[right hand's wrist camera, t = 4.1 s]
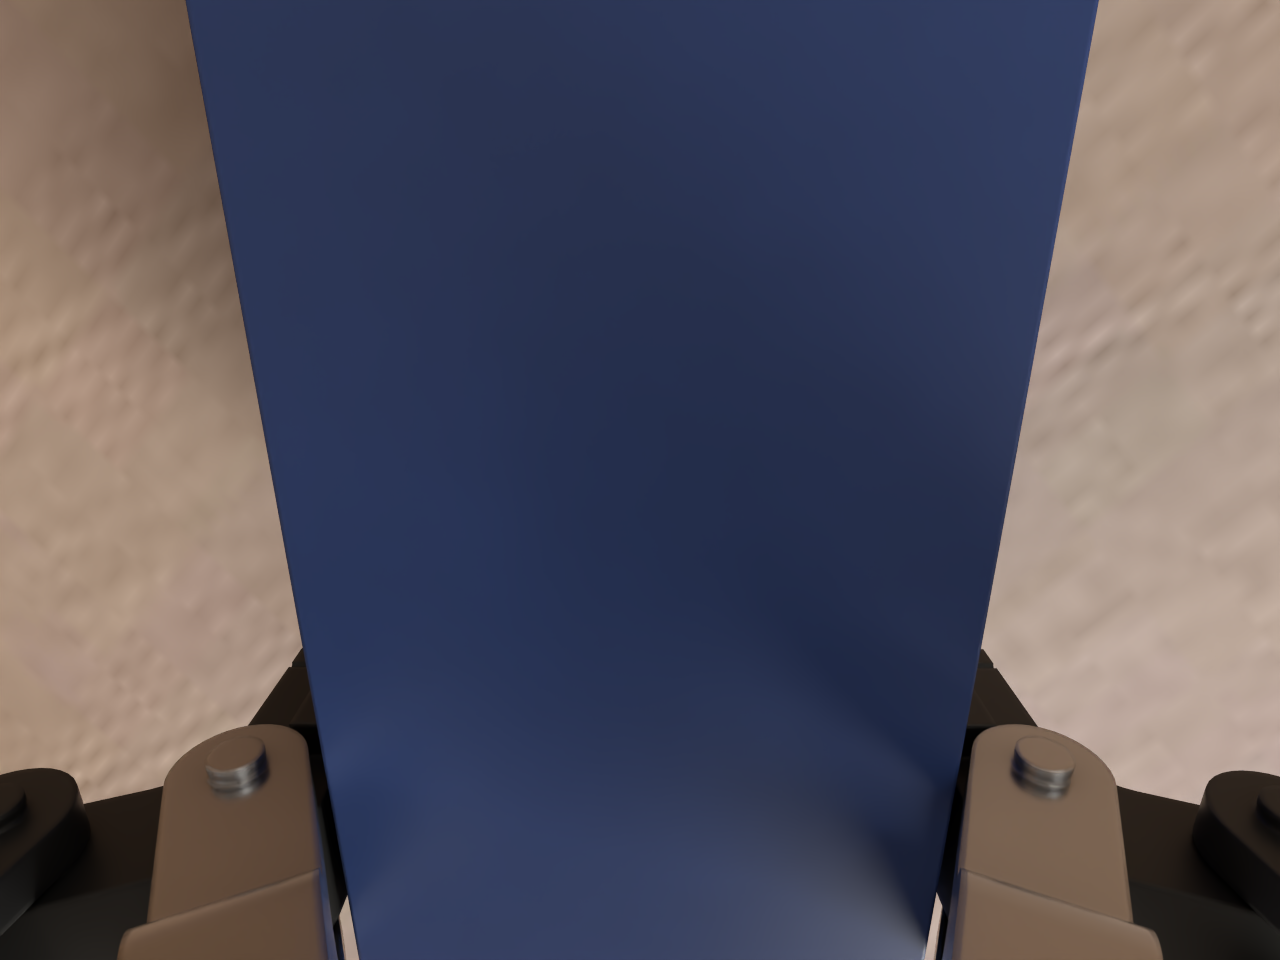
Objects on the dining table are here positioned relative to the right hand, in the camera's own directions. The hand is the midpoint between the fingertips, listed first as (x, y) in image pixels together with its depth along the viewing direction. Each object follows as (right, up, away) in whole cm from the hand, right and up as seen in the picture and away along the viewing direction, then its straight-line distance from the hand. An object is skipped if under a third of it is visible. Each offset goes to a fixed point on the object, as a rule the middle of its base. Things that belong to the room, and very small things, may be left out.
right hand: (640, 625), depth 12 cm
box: (0, +10, +4) cm, 10 cm away
